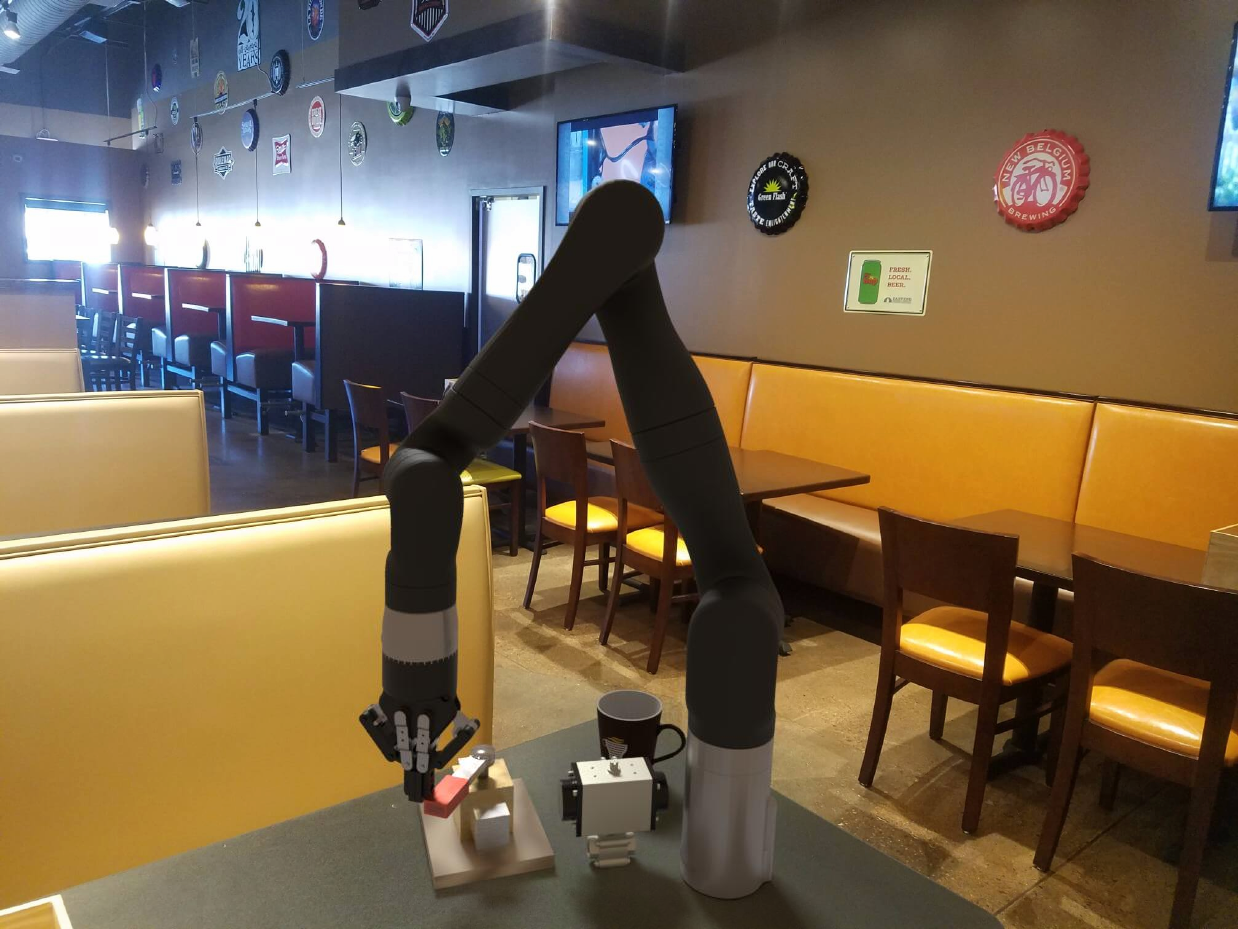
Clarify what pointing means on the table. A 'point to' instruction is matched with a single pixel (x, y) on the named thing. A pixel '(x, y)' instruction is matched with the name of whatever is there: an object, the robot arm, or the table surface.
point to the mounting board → (464, 865)
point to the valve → (487, 810)
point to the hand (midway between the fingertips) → (418, 798)
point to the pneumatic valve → (612, 805)
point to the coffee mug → (632, 725)
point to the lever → (458, 783)
